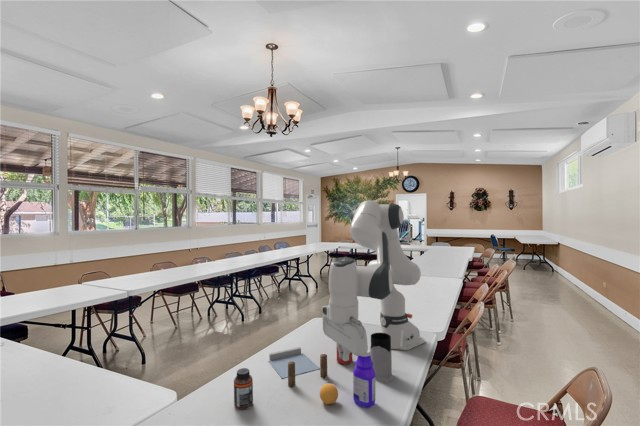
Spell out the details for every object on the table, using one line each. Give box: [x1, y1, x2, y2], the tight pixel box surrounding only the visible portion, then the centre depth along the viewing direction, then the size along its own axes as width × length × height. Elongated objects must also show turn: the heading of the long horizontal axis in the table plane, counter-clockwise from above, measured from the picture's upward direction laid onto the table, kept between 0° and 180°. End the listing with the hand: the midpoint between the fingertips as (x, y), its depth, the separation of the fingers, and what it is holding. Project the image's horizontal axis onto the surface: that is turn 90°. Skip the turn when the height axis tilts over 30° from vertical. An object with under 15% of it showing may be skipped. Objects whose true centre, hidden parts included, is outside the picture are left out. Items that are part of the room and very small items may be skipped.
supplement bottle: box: [233, 367, 254, 411], centre depth 107 cm, size 6×6×11 cm
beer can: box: [336, 347, 353, 365], centre depth 138 cm, size 7×7×12 cm
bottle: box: [352, 348, 376, 409], centre depth 108 cm, size 7×6×17 cm
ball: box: [319, 382, 339, 405], centre depth 108 cm, size 6×6×6 cm
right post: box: [319, 353, 328, 379], centre depth 125 cm, size 3×3×8 cm
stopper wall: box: [268, 346, 302, 361], centre depth 143 cm, size 14×2×2 cm, turn 117°
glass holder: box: [369, 332, 394, 383], centre depth 128 cm, size 9×14×15 cm, turn 158°
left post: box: [287, 361, 296, 388], centre depth 119 cm, size 3×3×8 cm
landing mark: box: [267, 352, 320, 380], centre depth 135 cm, size 16×16×1 cm
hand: (343, 359), depth 99 cm, fingers closed
